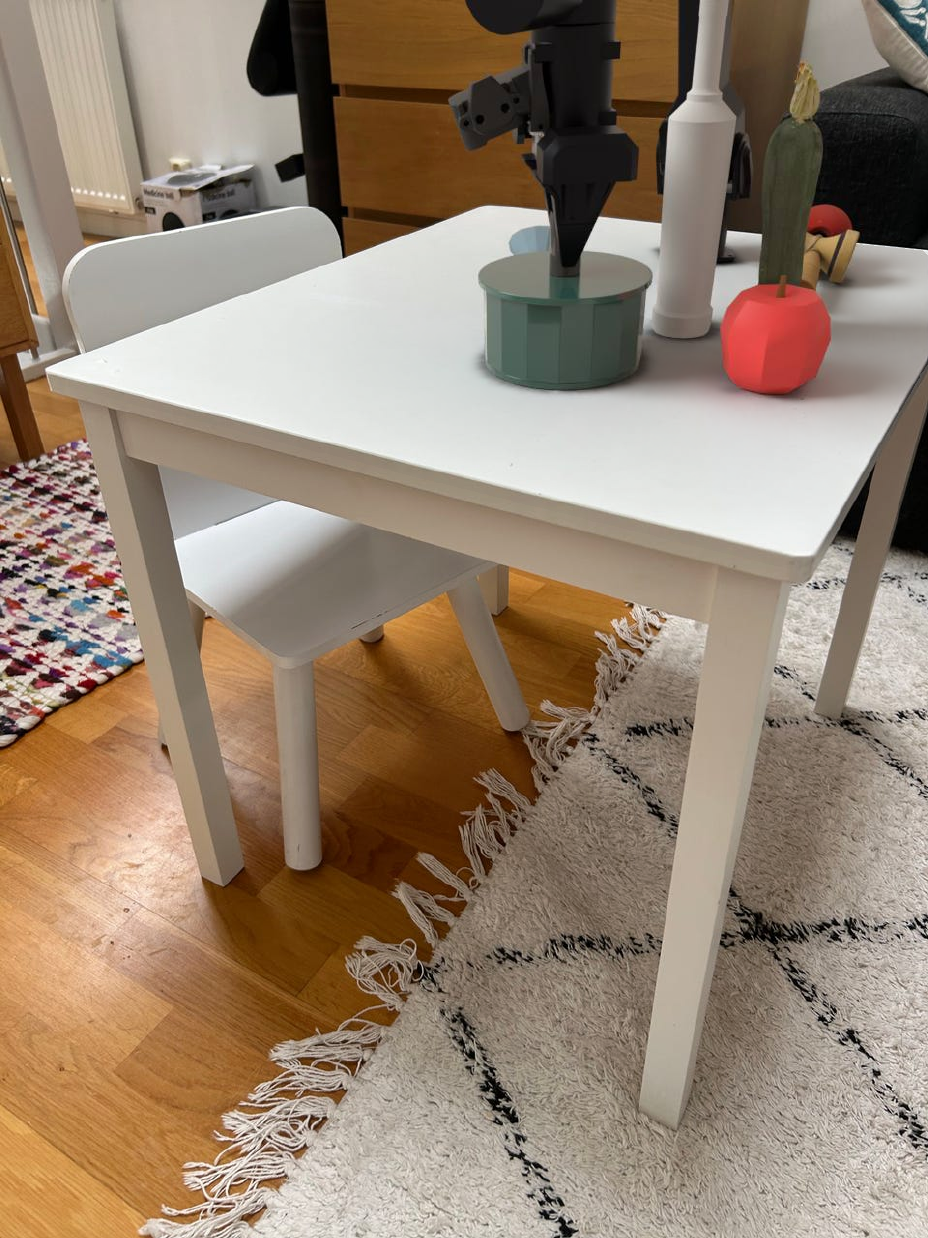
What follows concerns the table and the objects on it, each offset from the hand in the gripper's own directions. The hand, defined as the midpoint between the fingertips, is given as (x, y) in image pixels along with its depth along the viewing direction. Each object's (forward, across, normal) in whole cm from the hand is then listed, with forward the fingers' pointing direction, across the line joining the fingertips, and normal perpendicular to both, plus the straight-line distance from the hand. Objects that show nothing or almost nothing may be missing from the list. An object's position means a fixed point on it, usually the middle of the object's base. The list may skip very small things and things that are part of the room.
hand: (565, 261), depth 74 cm
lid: (+1, 0, 0) cm, 1 cm away
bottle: (+8, -6, +11) cm, 15 cm away
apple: (+8, +7, +15) cm, 18 cm away
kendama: (+8, -17, +27) cm, 33 cm away
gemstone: (+8, -24, +2) cm, 25 cm away
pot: (+8, 0, 0) cm, 8 cm away
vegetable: (+8, -6, +19) cm, 21 cm away
